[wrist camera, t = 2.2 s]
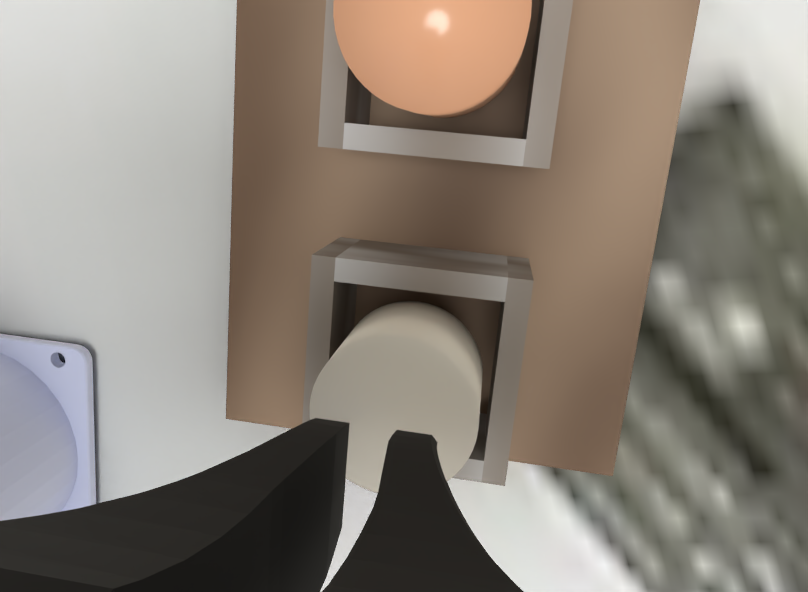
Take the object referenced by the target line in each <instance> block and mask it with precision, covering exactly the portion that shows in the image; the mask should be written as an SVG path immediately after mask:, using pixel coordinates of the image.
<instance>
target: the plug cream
mask: <svg viewBox="0 0 808 592" xmlns="http://www.w3.org/2000/svg"><path fill="white" fill-rule="evenodd" d="M482 376H483V367H482V359H481V355H480V351H479V349H478V346H477V344H476V342H475V340H474V338H473V336H472V335H471V333H470V332H469V330H468V329H467V328H466V327H465V326H464V325H463V324H462V322H461V321H459V320H458V319H457V318H456V317H455V316H453V315H452V314H450V313H449V312H447V311H445V310H443V309H441V308H439V307H437V306H434V305H431V304H428V303H423V302H418V301H401V302H395V303H390V304H387V305H384V306H381V307H379V308H377V309H375V310H373V311H372V312H370V313H369V314H368V315H366V316H365V317H364V318H363V319H362V320H361V321H359V323H358V324H357V325H356V326H355V327H354V329H353V330H352V331H351V332H350V334H349V335H348V336H347V338H346V339H345V340H344V342H343V343H342V344H341V345H340V347H339V348H338V349H337V351H336V352H335V353H334V354H333V356H332V357H331V358H330V360H329V361H328V362H327V363H326V365H325V366H324V367H323V369H322V370H321V372H320V374H319V375H318V377H317V379H316V382H315V384H314V386H313V390H312V393H311V398H310V420H311V419H314V418H320V419H327V420H333V421H340V422H347V423H350V425H349V438H348V451H347V464H346V479H348V480H349V481H351V482H352V483H354V484H356V485H358V486H360V487H362V488H364V489H367V490H370V491H372V492H376V493H378V490H379V485H380V480H381V475H382V470H383V465H384V460H385V455H386V450H387V445H388V441H389V439H390V438H391V436H392V435H393V434H394V432H395V431H396V430H402V431H409V432H416V433H423V434H429V435H432V436H433V437H434V438H435V440H436V441H437V442H438V443H437V452H438V457H439V461H440V464H441V468H442V471H443V473H444V476H445V479H446V481H448V480H449V479H451V478H452V477H453V476H455V475H456V474H457V472H458V471H459V470H460V469H461V468H462V467H463V466H464V464H465V463H466V462H467V460H468V459H469V457H470V455H471V453H472V451H473V448H474V446H475V443H476V439H477V435H478V428H479V415H480V402H481V390H482Z"/></svg>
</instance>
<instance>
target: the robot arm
mask: <svg viewBox="0 0 808 592" xmlns="http://www.w3.org/2000/svg"><path fill="white" fill-rule="evenodd" d="M59 353H61V354H62V355H63V356H64V357H65V363H63V362H61V360H60V359H59V356H58V354H59ZM349 425H350V423H347V422H340V421H333V420H327V419H320V418H314V419H311V420H309V421H307V422H304V423H302V424H300V425H298V426H296V427H294V428H292V429H291V430H289V431H287V432H285V433H283V434H281V435H279V436H277V437H275V438H273V439H271V440H269V441H267V442H265V443H263V444H261V445H259V446H257V447H255V448H253V449H252V450H250V451H248V452H245V453H243V454H241V455H239V456H237V457H234V458H232V459H230V460H228V461H225V462H223V463H221V464H219V465H216V466H214V467H212V468H210V469H207V470H205V471H203V472H200V473H198V474H195V475H193V476H190V477H187V478H185V479H182V480H179V481H176V482H173V483H170V484H167V485H164V486H161V487H158V488H155V489H152V490H149V491H146V492H142V493H139V494H135V495H131V496H127V497H123V498H119V499H115V500H111V501H106V502H102V503H98V504H96V476H95V438H94V399H93V361H92V356H91V354H90V352H89V351H88V349H86V348H85V347H84V346H81V345H78V344H71V343H64V342H57V341H50V340H42V339H35V338H28V337H21V336H14V335H6V334H0V592H320V590H321V588H322V585H323V583H324V581H325V579H326V576H327V573H328V570H329V567H330V564H331V561H332V558H333V555H334V551H335V548H336V545H337V541H338V538H339V535H340V531H341V528H342V517H343V504H344V491H345V478H346V464H347V451H348V438H349ZM437 443H438V442H437V441H436V440H435V438H434V437H433V436H432V435H429V434H423V433H416V432H409V431H402V430H396V431H395V432H394V434H393V435H392V436H391V438H390V439H389V441H388V445H387V450H386V455H385V460H384V465H383V470H382V475H381V480H380V485H379V490H378V494H377V498H376V501H375V504H374V507H373V509H372V511H371V513H370V515H369V517H368V520H367V522H366V524H365V526H364V528H363V530H362V532H361V534H360V536H359V537H358V539H357V541H356V543H355V544H354V546H353V548H352V550H351V552H350V553H349V555H348V557H347V558H346V560H345V561H344V563H343V564H342V566H341V567H340V569H339V570H338V572H337V573H336V574H335V576H334V577H333V579H332V580H331V582H330V583H329V585H328V586H327V587H326V588H325V589H324V590H323V591H322V592H523V591H522V590H521V589H520V588H519V587H518V586H517V585H516V584H515V583H514V582H513V581H512V580H511V579H510V578H509V577H508V576H507V575H506V574H505V573H504V572H503V571H502V569H501V568H500V567H499V566H498V565H497V564H496V563H495V562H494V561H493V560H492V558H491V557H490V556H489V555H488V553H487V552H486V550H485V549H484V548H483V546H482V545H481V544H480V542H479V541H478V539H477V538H476V536H475V535H474V533H473V532H472V530H471V529H470V527H469V525H468V524H467V522H466V520H465V518H464V517H463V515H462V513H461V511H460V509H459V507H458V506H457V503H456V501H455V499H454V497H453V495H452V493H451V491H450V488H449V486H448V483H447V481H446V479H445V476H444V473H443V471H442V468H441V464H440V461H439V457H438V452H437Z"/></svg>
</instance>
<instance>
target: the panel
mask: <svg viewBox="0 0 808 592" xmlns="http://www.w3.org/2000/svg"><path fill="white" fill-rule="evenodd" d="M333 2H334V0H237V21H236V59H235V97H234V135H233V173H232V210H231V248H230V286H229V324H228V362H227V400H226V419H232V420H238V421H245V422H252V423H259V424H265V425H272V426H279V427H286V428H294V427H296V426H298V425H300V424H302V423H304V422H307V421H309V420H310V398H311V393H312V390H313V386H314V384H315V382H316V379H317V377H318V375H319V374H320V372H321V370H322V369H323V367H324V366H325V365H326V363H327V362H328V361H329V360H330V358H331V357H332V356H333V354H334V353H335V352H336V351H337V349H338V348H339V347H340V345H341V344H342V343H343V342H344V340H345V339H346V338H347V336H348V335H349V334H350V332H351V331H352V330H353V329H354V327H355V326H356V325H357V324H358V323H359V321H361V320H362V319H363V318H364V317H365V316H366V315H368V314H369V313H370V312H372V311H373V310H375V309H377V308H379V307H381V306H384V305H387V304H390V303H395V302H401V301H418V302H423V303H428V304H431V305H434V306H437V307H439V308H441V309H443V310H445V311H447V312H449V313H450V314H452V315H453V316H455V317H456V318H457V319H458V320H459V321H461V322H462V324H463V325H464V326H465V327H466V328H467V329H468V330H469V332H470V333H471V335H472V336H473V338H474V340H475V342H476V344H477V346H478V349H479V351H480V355H481V359H482V367H483V376H482V390H481V402H480V415H479V428H478V435H477V439H476V443H475V446H474V448H473V451H472V453H471V455H470V457H469V459H468V460H467V462H466V463H465V464H464V466H463V467H462V468H461V469H460V470H459V471H458V472H457V474H456V475H455V476H453V477H452V478H457V479H463V480H470V481H477V482H483V483H490V484H496V485H503V486H505V481H506V474H507V467H508V461H515V462H521V463H528V464H535V465H542V466H548V467H555V468H562V469H569V470H575V471H582V472H589V473H595V474H602V475H609V476H613V471H614V465H615V460H616V455H617V449H618V444H619V438H620V433H621V427H622V422H623V417H624V411H625V406H626V400H627V395H628V389H629V384H630V379H631V373H632V368H633V362H634V357H635V351H636V346H637V341H638V335H639V330H640V324H641V319H642V313H643V308H644V303H645V297H646V292H647V286H648V281H649V275H650V270H651V265H652V259H653V254H654V248H655V243H656V237H657V232H658V226H659V221H660V216H661V210H662V205H663V199H664V194H665V188H666V183H667V178H668V172H669V167H670V161H671V156H672V150H673V145H674V140H675V134H676V129H677V123H678V118H679V112H680V107H681V102H682V96H683V91H684V85H685V80H686V74H687V69H688V64H689V58H690V53H691V47H692V42H693V36H694V31H695V26H696V20H697V15H698V9H699V4H700V0H532V8H531V19H530V24H529V30H528V34H527V38H526V42H525V46H524V50H523V53H522V57H521V60H520V63H519V65H518V67H517V69H516V72H515V74H514V75H513V77H512V78H511V80H510V82H509V83H508V84H507V86H506V87H505V88H504V89H503V90H502V92H501V93H500V94H498V95H497V96H496V97H495V98H494V99H493V100H492V101H490V102H489V103H488V104H486V105H485V106H483V107H481V108H479V109H478V110H476V111H473V112H471V113H468V114H465V115H461V116H458V117H450V118H435V117H428V116H424V115H421V114H417V113H414V112H410V111H407V110H404V109H400V108H397V107H395V106H393V105H390V104H388V103H386V102H384V101H383V100H381V99H380V98H378V97H376V96H375V95H374V94H372V93H371V92H370V91H369V90H368V89H367V88H365V87H364V86H363V84H362V83H361V82H360V81H359V80H358V79H357V78H356V77H355V75H354V74H353V72H352V71H351V69H350V68H349V66H348V64H347V63H346V61H345V59H344V57H343V55H342V52H341V49H340V47H339V44H338V40H337V36H336V32H335V26H334V18H333Z"/></svg>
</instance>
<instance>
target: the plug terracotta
mask: <svg viewBox="0 0 808 592" xmlns="http://www.w3.org/2000/svg"><path fill="white" fill-rule="evenodd" d="M531 8H532V0H334V2H333V18H334V26H335V32H336V36H337V40H338V44H339V47H340V49H341V52H342V55H343V57H344V59H345V61H346V63H347V64H348V66H349V68H350V69H351V71H352V72H353V74H354V75H355V77H356V78H357V79H358V80H359V81H360V82H361V83H362V84H363V86H364V87H365V88H367V89H368V90H369V91H370V92H371V93H372V94H374V95H375V96H376V97H378V98H380V99H381V100H383V101H384V102H386V103H388V104H390V105H393V106H395V107H397V108H400V109H404V110H407V111H410V112H414V113H417V114H421V115H424V116H428V117H435V118H450V117H458V116H461V115H465V114H468V113H471V112H473V111H476V110H478V109H479V108H481V107H483V106H485V105H486V104H488V103H489V102H490V101H492V100H493V99H494V98H495V97H496V96H497V95H498V94H500V93H501V92H502V90H503V89H504V88H505V87H506V86H507V84H508V83H509V82H510V80H511V78H512V77H513V75H514V74H515V72H516V69H517V67H518V65H519V63H520V60H521V57H522V53H523V50H524V46H525V42H526V38H527V34H528V30H529V24H530V19H531Z"/></svg>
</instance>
